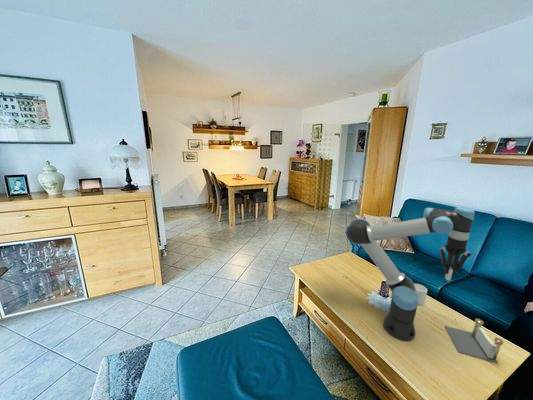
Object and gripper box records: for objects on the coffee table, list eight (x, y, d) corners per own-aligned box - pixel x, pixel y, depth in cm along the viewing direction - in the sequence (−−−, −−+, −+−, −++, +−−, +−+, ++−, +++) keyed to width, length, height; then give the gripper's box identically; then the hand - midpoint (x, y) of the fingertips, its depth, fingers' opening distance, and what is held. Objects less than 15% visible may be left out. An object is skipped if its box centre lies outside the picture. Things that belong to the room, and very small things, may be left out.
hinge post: (472, 339, 115) (477, 322, 113) (469, 334, 118) (474, 317, 116) (479, 341, 114) (485, 323, 112) (476, 336, 117) (481, 319, 114)
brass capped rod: (490, 360, 104) (497, 341, 101) (487, 355, 106) (493, 337, 104) (498, 362, 103) (504, 343, 100) (494, 357, 105) (501, 338, 103)
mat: (458, 352, 108) (458, 351, 107) (444, 326, 123) (445, 325, 123) (497, 363, 102) (497, 362, 102) (478, 335, 118) (478, 334, 118)
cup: (427, 305, 139) (430, 291, 137) (409, 305, 139) (412, 292, 136) (417, 296, 147) (420, 283, 145) (400, 297, 147) (403, 283, 144)
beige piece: (474, 337, 115) (478, 325, 113) (478, 338, 114) (482, 326, 112) (488, 357, 104) (492, 345, 102) (492, 358, 103) (497, 346, 101)
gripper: (470, 237, 111) (459, 278, 117) (439, 233, 115) (430, 272, 121) (478, 243, 104) (466, 286, 110) (445, 238, 108) (435, 280, 114)
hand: (447, 279), depth 115 cm, fingers closed
